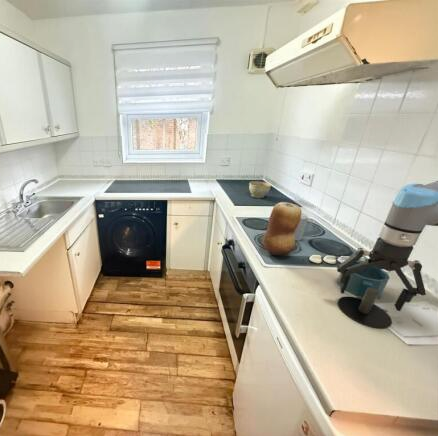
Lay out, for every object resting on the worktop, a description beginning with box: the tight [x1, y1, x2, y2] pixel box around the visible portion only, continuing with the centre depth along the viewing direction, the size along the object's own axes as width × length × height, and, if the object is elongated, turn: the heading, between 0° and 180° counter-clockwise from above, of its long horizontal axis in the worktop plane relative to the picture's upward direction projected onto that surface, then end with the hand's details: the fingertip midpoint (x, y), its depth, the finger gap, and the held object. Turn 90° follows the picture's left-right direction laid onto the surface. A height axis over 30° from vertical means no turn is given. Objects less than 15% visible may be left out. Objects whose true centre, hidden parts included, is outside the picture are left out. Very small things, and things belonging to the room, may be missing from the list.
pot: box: [337, 259, 390, 300], centre depth 88 cm, size 13×18×8 cm
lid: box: [337, 287, 393, 330], centre depth 77 cm, size 14×14×10 cm
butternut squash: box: [262, 201, 303, 256], centre depth 109 cm, size 14×13×25 cm
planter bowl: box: [248, 181, 272, 199], centre depth 194 cm, size 16×16×11 cm
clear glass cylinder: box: [294, 212, 310, 241], centre depth 128 cm, size 10×10×12 cm
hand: (368, 299), depth 76 cm, fingers open, 13 cm apart
